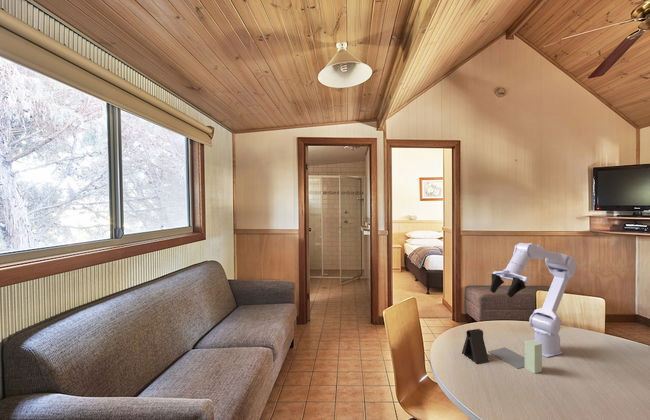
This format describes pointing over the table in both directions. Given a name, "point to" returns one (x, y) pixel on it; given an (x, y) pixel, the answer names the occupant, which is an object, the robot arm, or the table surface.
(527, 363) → the sage block
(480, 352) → the phone stand
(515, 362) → the mat
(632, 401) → the table surface
